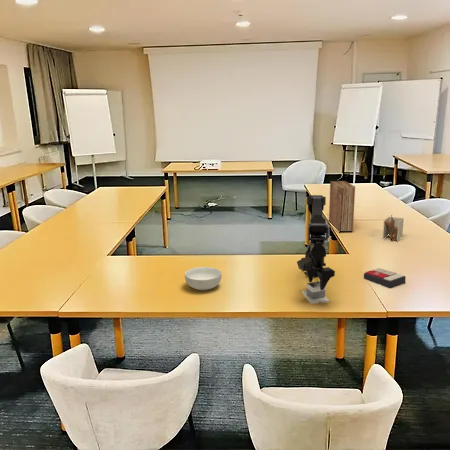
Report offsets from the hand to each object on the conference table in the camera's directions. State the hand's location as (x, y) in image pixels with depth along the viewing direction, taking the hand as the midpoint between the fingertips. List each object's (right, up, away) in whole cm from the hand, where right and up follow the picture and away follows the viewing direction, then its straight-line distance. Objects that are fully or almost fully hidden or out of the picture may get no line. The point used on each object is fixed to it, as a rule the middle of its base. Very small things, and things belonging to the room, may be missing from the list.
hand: (316, 286), depth 189 cm
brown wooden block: (+38, +24, +109) cm, 118 cm away
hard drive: (0, -6, +3) cm, 7 cm away
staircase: (+63, +17, +82) cm, 105 cm away
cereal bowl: (-49, -3, +16) cm, 51 cm away
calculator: (+35, -1, +18) cm, 40 cm away
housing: (0, -4, +1) cm, 5 cm away
